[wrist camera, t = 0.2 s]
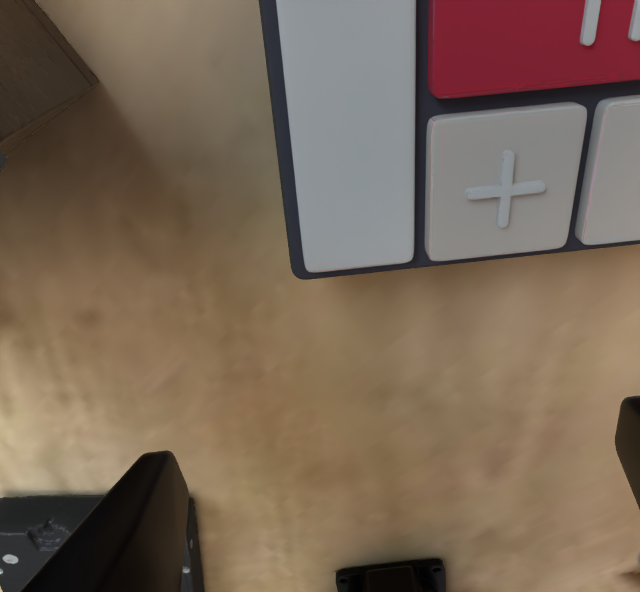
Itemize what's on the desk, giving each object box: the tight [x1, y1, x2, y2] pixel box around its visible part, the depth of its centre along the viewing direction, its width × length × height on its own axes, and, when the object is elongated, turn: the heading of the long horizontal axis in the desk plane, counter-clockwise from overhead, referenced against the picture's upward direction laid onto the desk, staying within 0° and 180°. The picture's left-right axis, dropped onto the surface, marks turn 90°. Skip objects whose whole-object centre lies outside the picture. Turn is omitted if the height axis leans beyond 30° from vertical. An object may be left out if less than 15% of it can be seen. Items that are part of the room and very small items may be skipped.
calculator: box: [259, 0, 640, 279], centre depth 18 cm, size 11×4×15 cm
